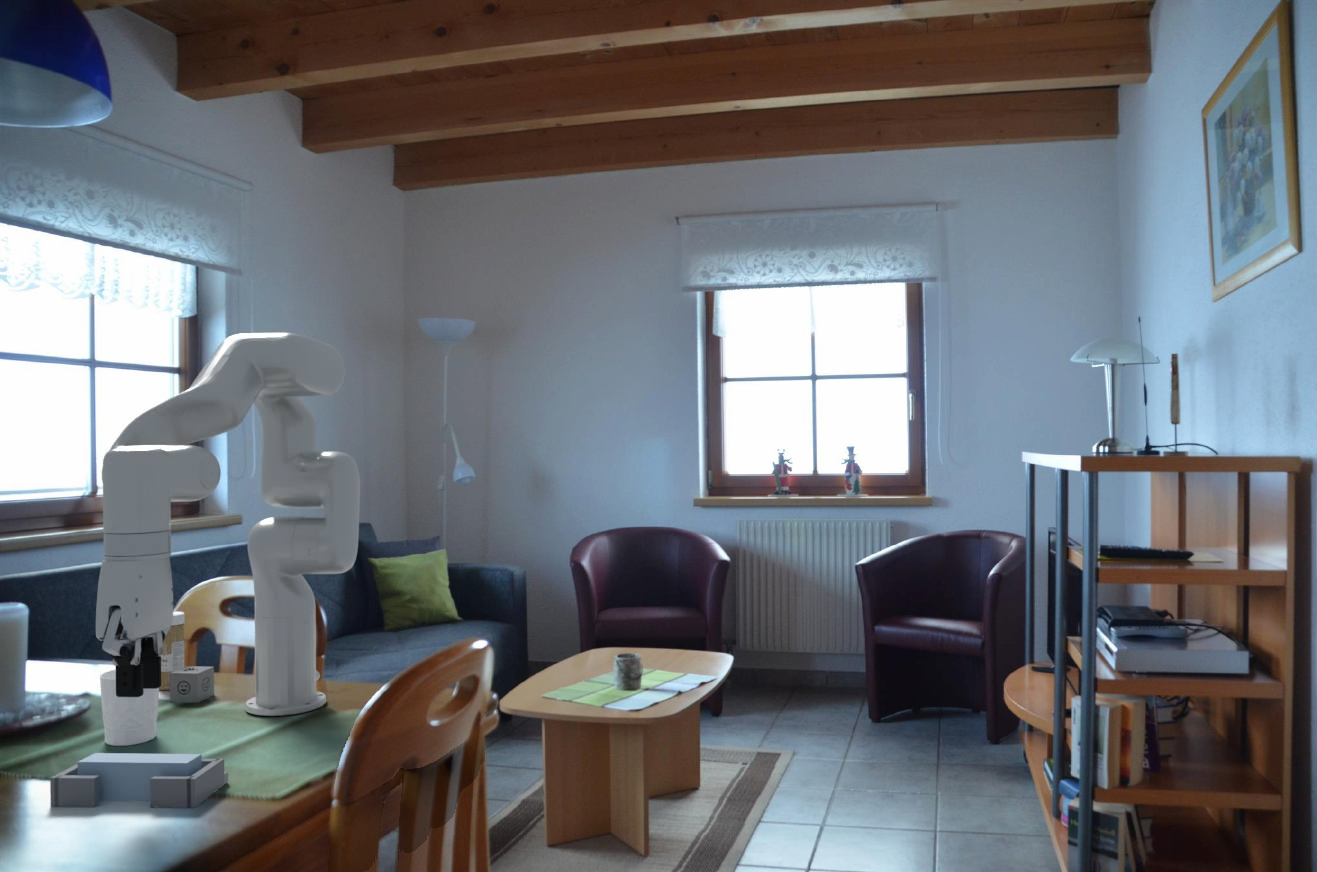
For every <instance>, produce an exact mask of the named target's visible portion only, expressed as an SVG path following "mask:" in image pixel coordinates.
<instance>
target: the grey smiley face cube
mask: <svg viewBox="0 0 1317 872" xmlns="http://www.w3.org/2000/svg"><path fill="white" fill-rule="evenodd" d="M213 696H215V666H201V665H199V666H197V665H196V666H195V665H194V666H193V665H185V666H184V668H181V669H179V670H176V671H174V672H171V673H170V690H169V702H170V703H195V704H196V703H197V704H198V703H201V702H202V701H204V700H206V699H208V698H210V697H213Z"/></svg>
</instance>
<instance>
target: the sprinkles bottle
mask: <svg viewBox="0 0 1317 872" xmlns="http://www.w3.org/2000/svg"><path fill="white" fill-rule="evenodd" d="M185 615H186V614H185V612H184V611H173V621H172V624H171V628H170V630H169V631H168V633H167V634H166V636H165V639H164V642H163V654H162V655H161V687H159V691H170V673H171V672H174V671H176V670H179V669H181V668H184V667H185V637H184V635H185V633H184V632H185V631H184V629H185V627H184V625H185V622H186V621H185V620H186V619H185V617H186V616H185Z"/></svg>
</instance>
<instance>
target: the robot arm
mask: <svg viewBox="0 0 1317 872" xmlns="http://www.w3.org/2000/svg"><path fill="white" fill-rule="evenodd" d="M345 376H346V366H345V361H344V359H343V357H342V353H340V351H339V350H338V349H337V348H336V347H335V346H334V345H332V344H330V343H327V342H324V341H320V340H318V339H316V338H312V337H310V336H308V335H307V336H306V335H302V334H298V333H293V332H250V333H248V332H247V333H246V332H244V333H237V334H233V335H229V336H228V337H227V338H225V339H223V340H222V341H221V343H220V344H219V345H218V346H217V348H216V349H215V351H214V352H213V353H212V355H211V356H210V358H208V360H207V362H206V363H205V365H204V366H203V368H202V369H201V371H200V372H199V373H198V375H197V376H196V378H195V379H194V381H192V383H191V385H190V386H189V387H188V389H186V390H184V391H182V392H180V393H178V394H176V395H174V396H171V397H170V398H168V399H167V400H164V401H162V402H161V403H159V404H157V405H155V406H154V407H152V408H149V409H148V410H146V411H145V412H142V413H141V414H140V415H138V416H137V417H136V418H134V419H133V420H132V421H131V422H130V423H128V425H127V426H126V427H125V428H124V429H123V430H122V432H121V433H120V434H119V436H118V437H117V438H116V440H115V441H114V442H113V444H112V446H111V447H110V449H109V450H108V451H107V452H106V453H105V454H104V456H103V461H102V469H101V481H102V509H103V510H102V513H103V514H102V515H103V516H102V519H103V520H102V522H103V523H102V525H103V526H102V527H103V528H102V530H103V560H102V561H101V566H100V570H99V575H98V577H99V578H98V582H97V583H98V585H97V594H96V595H97V596H96V609H95V610H96V611H95V636H96V638H97V640H99V641H103V642H102V647H101V648H102V650H103V651H104V652H106V653H107V654H109V655H110V656H111V658H112V664H113V666H115V670H116V696H117V697H140V696H142V695H143V693H144V692H143V689H157V688H159V687H161V655H162V654H163V642H164V639H165V636H166V634H167V633H168V631H169V630H170V628H171V624H172V621H173V612H174V586H173V577H172V575H173V574H172V568H171V567H172V566H171V560H170V557H171V556H172V535H171V534H172V533H171V532H172V530H171V528H172V527H171V523H172V522H171V521H172V518H171V517H172V514H171V513H172V512H171V510H172V509H171V507H172V505H171V503H176V502H177V503H178V502H179V503H181V502H183V503H186V502H187V503H188V502H189V503H190V502H196V501H200V500H203V499H205V498H207V497H209V496H210V495H211V494H212V493H213V492H215V490H216V488H217V487H218V485H219V483H220V479H221V474H222V473H221V466H220V463H219V460H218V458H217V457H216V455H214V453H212V452H211V451H210V450H208V449H206V448H204V447H202V446H198V445H193V443H195V442H201V441H204V440H207V439H210V438H214V437H216V436H219V435H222V434H225V433H228V432H231V431H232V430H234V429H235V428H238V426H240V425H241V423H242V422H243V421H244V419H245V417H246V416H247V414H248V412H249V411H250V409H251V407H252V406H253V404H254V405H255V408H256V409H257V411H258V413H259V417H260V420H261V424H262V447H261V469H260V490H261V496H262V498H263V500H264V502H265V503H266V504H268V505H269V506H272V507H274V508H281V509H284V508H285V509H323V511H324V516H307V515H302V516H301V515H300V516H298V515H297V516H295V515H294V516H293V515H288V516H286V515H285V516H284V515H282V516H281V515H279V516H272V517H267V518H263V519H262V520H260V521H258V522H257V523H255V524H254V525H253V527H252V528H251V529H250V531H249V533H248V537H247V554H248V559H249V564H250V568H251V574H252V581H253V592H254V593H253V594H254V681H255V683H254V692H255V693H254V694H255V696H252V697H251V698H249V699H248V700H246V701H245V703H244V705H245V707H244V708H245V712H247V713H249V714H250V715H255V716H261V717H262V716H264V717H266V716H267V717H269V716H270V717H275V716H276V717H278V716H279V717H280V716H288V715H299V714H302V713H308V712H310V711H314V710H316V709H320V708H321V707H323V706H324V705H325V704H327V703H326V702H327V695H326V694H325V693H324V692H321V691H318V690H317V681H318V680H319V679H320V678H321V674H320V672H319V671H318V670H317V657H316V656H317V652H316V651H317V649H316V648H317V647H316V646H317V645H316V642H317V641H316V640H317V639H316V638H317V636H316V632H317V631H316V618H317V616H316V615H317V614H316V610H317V609H316V607H317V606H316V598H315V594H314V592H313V590H312V588H311V586H310V585H309V583H308V581H307V580H306V578H305V577H304V576H303V575H338V574H339V575H340V574H343V573H346V572H349V570H351V569H352V568H353V566H354V565H355V562H356V559H357V555H358V550H359V549H358V548H359V533H360V532H359V531H360V507H361V506H360V505H361V501H360V500H361V480H360V479H361V478H360V471H359V469H358V465H357V463H356V461H355V459H354V458H353V457H352V456H351V455H349V454H347V453H345V452H342V451H336V450H335V451H333V450H332V451H328V450H327V451H326V450H325V451H321V450H320V451H318V450H317V424H316V423H317V422H316V419H315V417H314V414H313V413H312V412H311V410H310V409H309V407H308V406H307V405H306V404H305V402H304V401H303V400H302V399H301V398H300V397H328V396H333V395H335V394H336V393H337V392H339V390H340V389H341V387H342V386H343V384H344V381H345V378H346V377H345ZM189 444H191V445H189ZM124 635H126V638H123V636H124ZM128 645H131V647H130V648H129V647H128Z"/></svg>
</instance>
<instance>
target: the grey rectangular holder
mask: <svg viewBox="0 0 1317 872" xmlns="http://www.w3.org/2000/svg"><path fill="white" fill-rule="evenodd" d="M227 782H228V783H229V771H225V758H202V769H201V770H199V771H198V772H196V773H195V774H193V775H192V776H154V777H152V778H151V802H150V808H173V809H175V808H185V809H186V808H190V809H191V808H197V807H198V806H200V805H201V804H202V803H203V802H205V801H206V800H207V799H209V798H210V797H211V796H212V795H211V794H212V793H213V792H214V791H216V790H218V789H219V788H220V787H222V786H223V785H224V784H226V783H227ZM49 784H50V789H49V790H50V807H55V808H56V807H59V808H60V807H64V808H65V807H66V808H71V807H72V808H73V807H75V808H78V807H79V808H95V807H96V806H98V805H100V801H99V775H78V768H77V763H76V764H73V765H72V766H70V767H68V768H66V769H65V770H63V771H61V772H59V773H57V774H56V775H52V777H50V783H49ZM226 785H227V784H226ZM222 788H223V787H222ZM218 791H219V790H218ZM210 795H211V796H210ZM209 796H210V797H209ZM208 797H209V798H208ZM204 800H205V801H204ZM201 802H202V803H201Z"/></svg>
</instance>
